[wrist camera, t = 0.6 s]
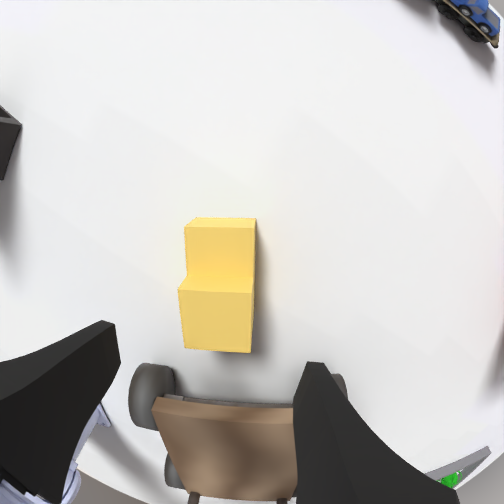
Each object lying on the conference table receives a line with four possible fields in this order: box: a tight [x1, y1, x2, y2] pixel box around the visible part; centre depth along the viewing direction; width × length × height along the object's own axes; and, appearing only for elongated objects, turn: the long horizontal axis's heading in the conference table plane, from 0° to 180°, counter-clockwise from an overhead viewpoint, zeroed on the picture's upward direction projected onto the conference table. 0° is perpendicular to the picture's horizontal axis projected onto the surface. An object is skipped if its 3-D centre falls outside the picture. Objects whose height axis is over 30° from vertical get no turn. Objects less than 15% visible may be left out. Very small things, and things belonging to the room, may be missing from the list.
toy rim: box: [425, 446, 491, 489], centre depth 32 cm, size 22×22×2 cm
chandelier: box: [437, 471, 462, 488], centre depth 31 cm, size 15×15×7 cm
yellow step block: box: [178, 217, 256, 353], centre depth 17 cm, size 4×7×5 cm, turn 179°
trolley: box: [128, 363, 348, 504], centre depth 18 cm, size 16×20×15 cm
